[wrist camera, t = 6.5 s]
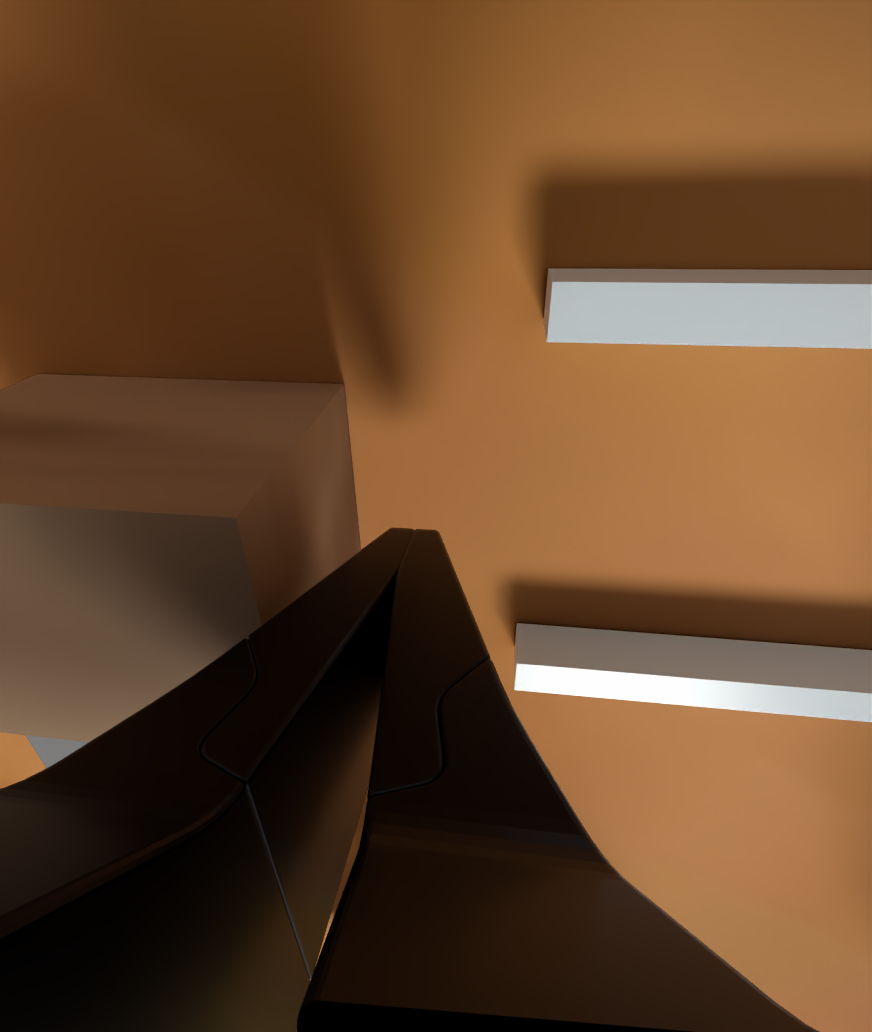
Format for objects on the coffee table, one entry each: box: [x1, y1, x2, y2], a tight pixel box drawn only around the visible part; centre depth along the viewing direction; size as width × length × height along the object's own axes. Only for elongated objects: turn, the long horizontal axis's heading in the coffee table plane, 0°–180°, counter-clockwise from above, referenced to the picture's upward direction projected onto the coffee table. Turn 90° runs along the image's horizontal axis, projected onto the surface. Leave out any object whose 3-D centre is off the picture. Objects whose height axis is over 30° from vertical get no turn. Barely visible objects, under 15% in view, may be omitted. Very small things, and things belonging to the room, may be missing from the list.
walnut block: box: [0, 374, 361, 742], centre depth 9 cm, size 4×6×4 cm
